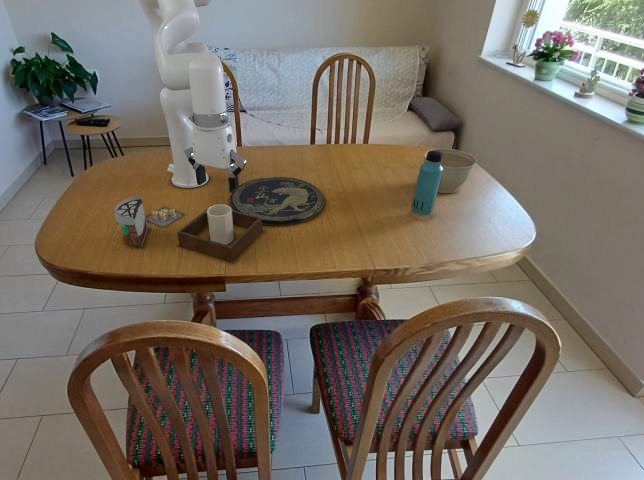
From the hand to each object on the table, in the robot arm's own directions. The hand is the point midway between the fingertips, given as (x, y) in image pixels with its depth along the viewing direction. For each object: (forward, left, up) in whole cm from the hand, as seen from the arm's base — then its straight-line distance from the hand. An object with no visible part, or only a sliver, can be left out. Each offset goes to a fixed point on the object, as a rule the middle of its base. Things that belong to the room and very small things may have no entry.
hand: (217, 186), depth 104 cm
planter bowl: (+50, +60, -16) cm, 80 cm away
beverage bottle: (+47, +38, -16) cm, 62 cm away
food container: (-22, -11, -16) cm, 30 cm away
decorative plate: (+4, +26, -16) cm, 31 cm away
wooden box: (0, 0, -16) cm, 16 cm away
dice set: (-22, +2, -16) cm, 28 cm away
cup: (0, 0, -16) cm, 16 cm away
